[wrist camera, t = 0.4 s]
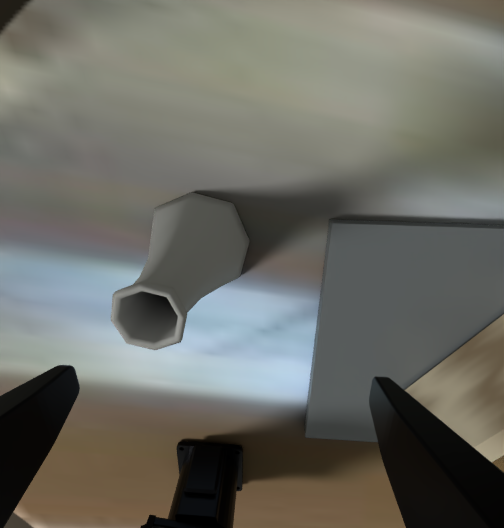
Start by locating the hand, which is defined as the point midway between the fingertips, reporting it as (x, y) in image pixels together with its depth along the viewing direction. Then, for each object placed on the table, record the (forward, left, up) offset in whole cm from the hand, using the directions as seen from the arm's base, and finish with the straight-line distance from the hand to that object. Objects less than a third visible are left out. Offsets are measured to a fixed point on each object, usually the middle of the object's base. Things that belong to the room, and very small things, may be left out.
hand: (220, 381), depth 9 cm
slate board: (-8, -15, -13) cm, 22 cm away
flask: (0, +4, -14) cm, 14 cm away
